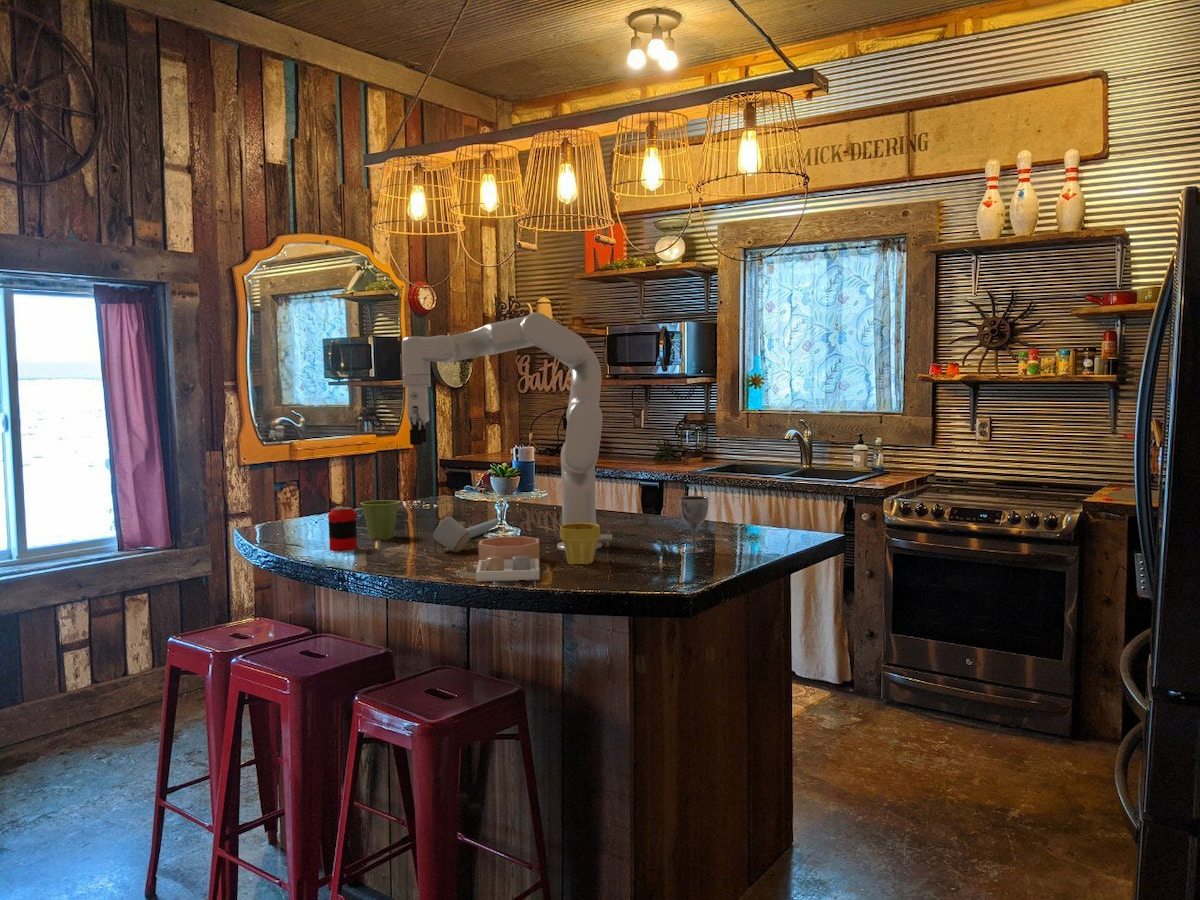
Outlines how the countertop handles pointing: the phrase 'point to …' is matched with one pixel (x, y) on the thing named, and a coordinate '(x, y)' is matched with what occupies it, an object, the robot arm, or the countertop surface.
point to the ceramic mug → (451, 534)
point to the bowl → (509, 547)
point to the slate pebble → (521, 562)
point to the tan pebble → (495, 563)
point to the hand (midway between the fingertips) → (418, 443)
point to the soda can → (342, 529)
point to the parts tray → (507, 572)
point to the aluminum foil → (482, 528)
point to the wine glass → (694, 515)
